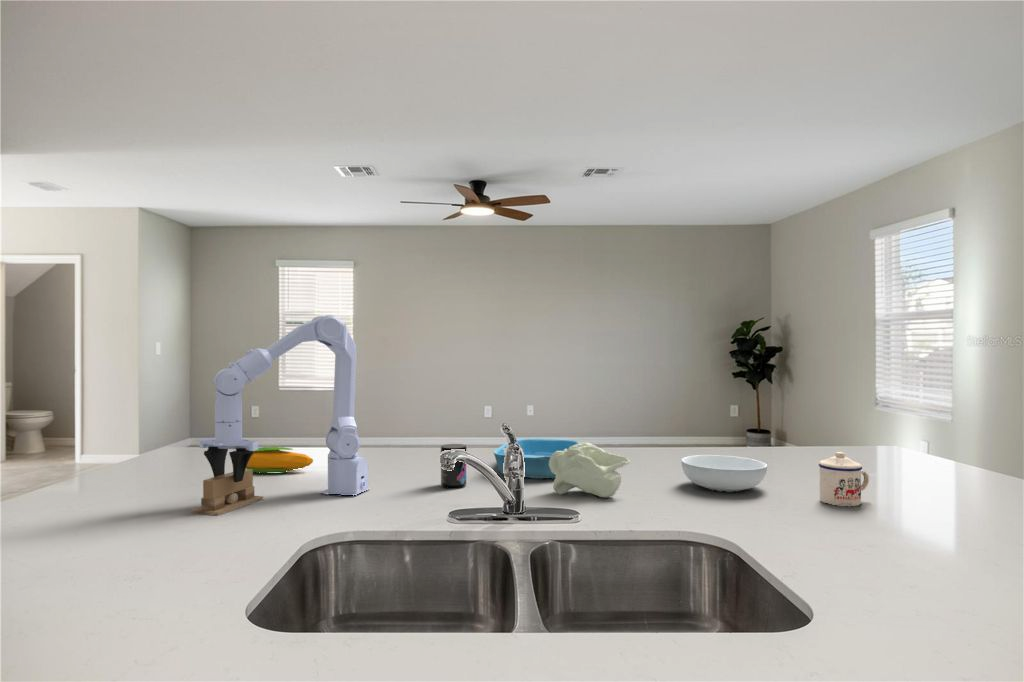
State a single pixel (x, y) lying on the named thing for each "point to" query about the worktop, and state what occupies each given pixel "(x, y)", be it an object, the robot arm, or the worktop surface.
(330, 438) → the robot arm
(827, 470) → the teacup with lid
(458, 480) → the supplement container
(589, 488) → the folded clay sculpture
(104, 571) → the worktop surface
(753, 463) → the serving bowl
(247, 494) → the display stand
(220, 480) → the long wooden plank
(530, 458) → the casserole dish
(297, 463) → the corn
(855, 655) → the worktop surface
